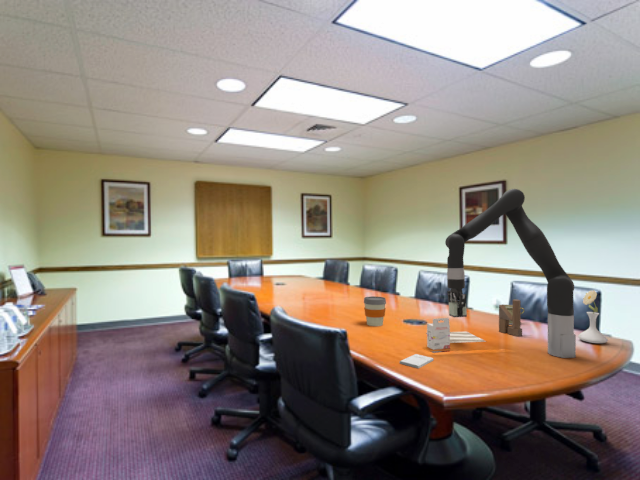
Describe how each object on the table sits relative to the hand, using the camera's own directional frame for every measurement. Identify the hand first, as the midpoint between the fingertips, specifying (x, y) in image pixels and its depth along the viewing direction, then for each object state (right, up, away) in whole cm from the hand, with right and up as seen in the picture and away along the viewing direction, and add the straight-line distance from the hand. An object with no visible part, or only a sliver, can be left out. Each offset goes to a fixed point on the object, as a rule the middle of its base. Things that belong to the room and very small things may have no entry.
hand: (457, 314), depth 169 cm
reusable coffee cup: (-32, -14, +41) cm, 54 cm away
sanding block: (0, -1, 0) cm, 1 cm away
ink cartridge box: (-11, -14, -8) cm, 20 cm away
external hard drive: (-24, -15, -22) cm, 36 cm away
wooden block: (+35, -14, +20) cm, 43 cm away
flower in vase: (+66, -14, +5) cm, 68 cm away
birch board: (+2, -14, +9) cm, 17 cm away
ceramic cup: (+48, -14, +43) cm, 66 cm away
